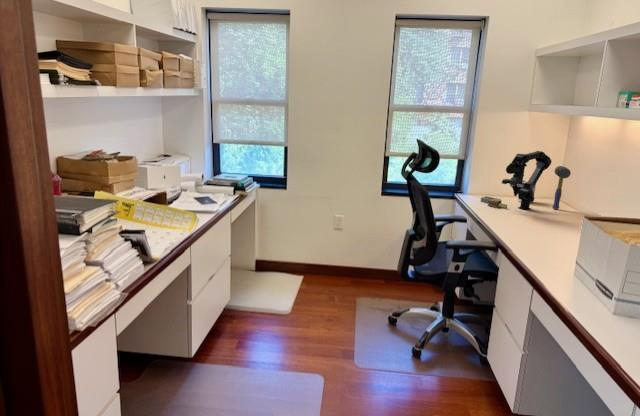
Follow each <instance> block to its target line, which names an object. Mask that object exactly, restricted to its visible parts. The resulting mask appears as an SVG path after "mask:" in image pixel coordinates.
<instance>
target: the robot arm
mask: <svg viewBox="0 0 640 416" xmlns="http://www.w3.org/2000/svg"><path fill="white" fill-rule="evenodd" d="M532 160H535V161H536V162H535V169H534V171H533V173H532V175H530V177H529V179H528V180H529V181H528V182H527V183H523V180H524V177H525V168H526V167H527V166H528V165H527V163H529V162H530V161H532ZM551 164H552V159H551V157H550V156H549V155H547V154H545V151H542V150H541V151H540V150H536V151H533V152H529V153H517V154H516V155H515V156H514V157H513V159H512V160H511V163H509V164H508V165H507V166H506V168H505V171H506V174H508V175H512V174H513V175H512V177H511V178H510V179H509V178H504V179H502V180H501V184H502V185H508V184H509V186H510V187H511V188H512V190H513V196H514V197H517V196H518V200H519V199H521V203H520V206H519V207H518V208H517V209H521V210H525V211H529V210H531V209H532V208H531V207H530V206H531V203H534V201H535V199H536V197H535V195H534V196H533V188H534V186H535V184H536V185H537V182H538V180H539V179H540V177H541V176H542V174H543V172H544V171H545V170H547V169H548V168H549V167H550V166H551ZM530 201H531V202H530Z"/></svg>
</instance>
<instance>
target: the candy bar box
mask: <svg viewBox="0 0 640 416" xmlns="http://www.w3.org/2000/svg"><path fill="white" fill-rule="evenodd" d="M528 181H529V179H523V183H527V182H528ZM536 187H537V183H536V184H535V186H534V188H533V196H534V197H535V192H536ZM518 203H520V204H521V199H519V198H518ZM530 203H532V202H531V201H530Z"/></svg>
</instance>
